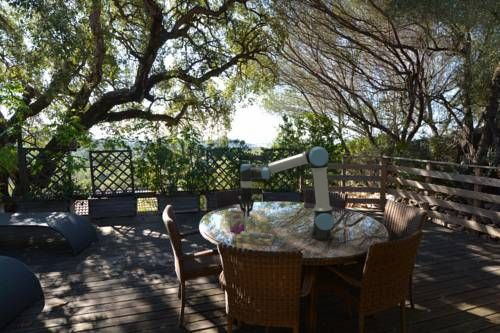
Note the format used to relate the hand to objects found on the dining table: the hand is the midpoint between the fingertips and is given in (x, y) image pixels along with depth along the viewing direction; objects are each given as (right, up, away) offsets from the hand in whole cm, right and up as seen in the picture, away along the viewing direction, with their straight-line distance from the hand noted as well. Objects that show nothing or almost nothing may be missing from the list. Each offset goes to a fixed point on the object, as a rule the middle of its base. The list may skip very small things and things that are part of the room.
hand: (246, 220), depth 214 cm
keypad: (+6, -13, 0) cm, 14 cm away
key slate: (+6, -11, -1) cm, 12 cm away
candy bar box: (-6, -11, +18) cm, 22 cm away
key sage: (-1, -12, +1) cm, 12 cm away
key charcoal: (+13, -13, -2) cm, 18 cm away
